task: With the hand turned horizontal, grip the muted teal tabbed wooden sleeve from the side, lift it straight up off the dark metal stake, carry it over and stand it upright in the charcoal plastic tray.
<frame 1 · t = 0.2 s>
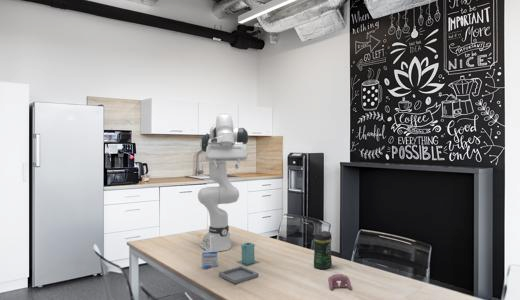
hand: (227, 168, 171), 54 cm above the table, tool tilted 30°, fingers open, 8 cm apart
medicine box: (209, 267, 192), on the table
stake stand: (248, 263, 197), on the table
coffee jar: (323, 267, 189), on the table
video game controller: (339, 288, 161), on the table
tray: (238, 276, 177), on the table
tabbed sleeve: (248, 262, 197), point 1 cm above the table, touching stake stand
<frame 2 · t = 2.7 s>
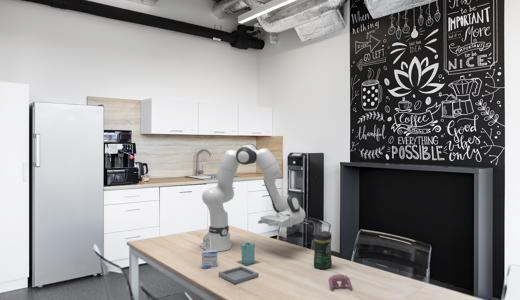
hand: (263, 223, 203), 20 cm above the table, tool horizontal, fingers open, 8 cm apart
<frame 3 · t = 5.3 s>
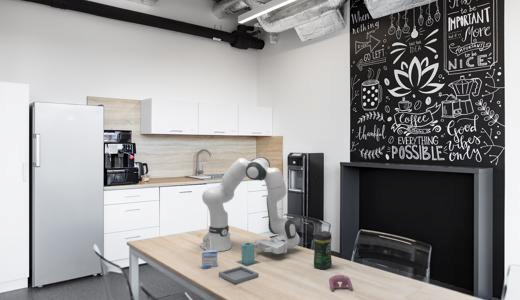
hand: (258, 248, 202), 7 cm above the table, tool horizontal, fingers open, 8 cm apart
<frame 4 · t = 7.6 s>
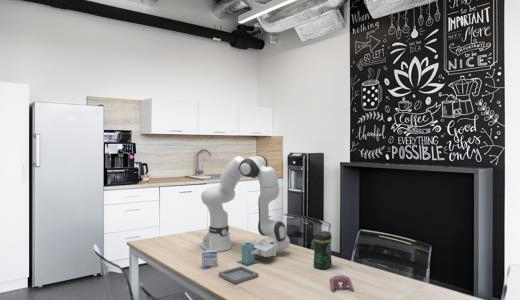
hand: (246, 251, 196), 7 cm above the table, tool horizontal, fingers closed on tabbed sleeve, 5 cm apart
tabbed sleeve: (248, 262, 197), point 1 cm above the table, touching gripper, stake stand
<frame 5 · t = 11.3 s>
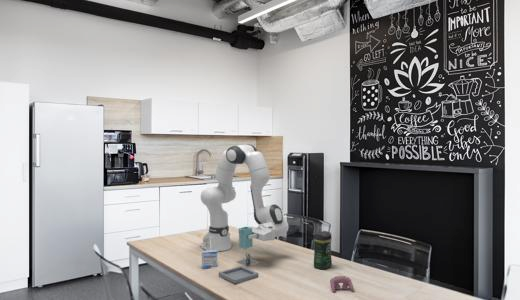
hand: (244, 235, 189), 17 cm above the table, tool horizontal, fingers closed on tabbed sleeve, 5 cm apart
tabbed sleeve: (245, 246, 189), point 11 cm above the table, touching gripper
when the fingers open (9 cm above the table, at t = 14.7 s): tabbed sleeve drops 2 cm, resting on tray.
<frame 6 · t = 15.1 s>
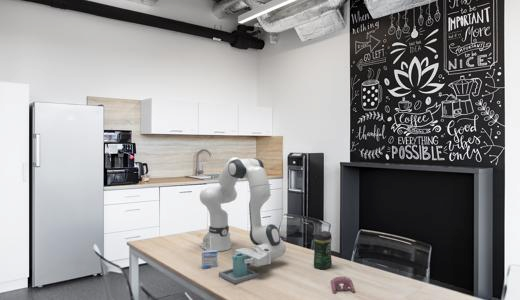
hand: (238, 259, 177), 9 cm above the table, tool horizontal, fingers open, 8 cm apart
tabbed sleeve: (240, 275, 177), point 1 cm above the table, touching tray
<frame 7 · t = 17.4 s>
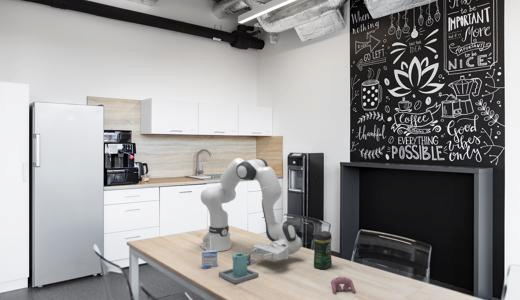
hand: (257, 254, 184), 9 cm above the table, tool horizontal, fingers open, 8 cm apart
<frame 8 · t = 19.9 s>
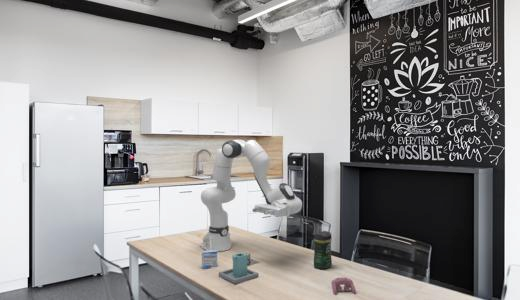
hand: (258, 211, 187), 30 cm above the table, tool horizontal, fingers open, 8 cm apart
at the end: tabbed sleeve inside the target area on the tray (1.0 cm from its centre), point 0.6 cm above the tray's base; tabbed sleeve tilted 0°; the gripper is holding nothing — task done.
